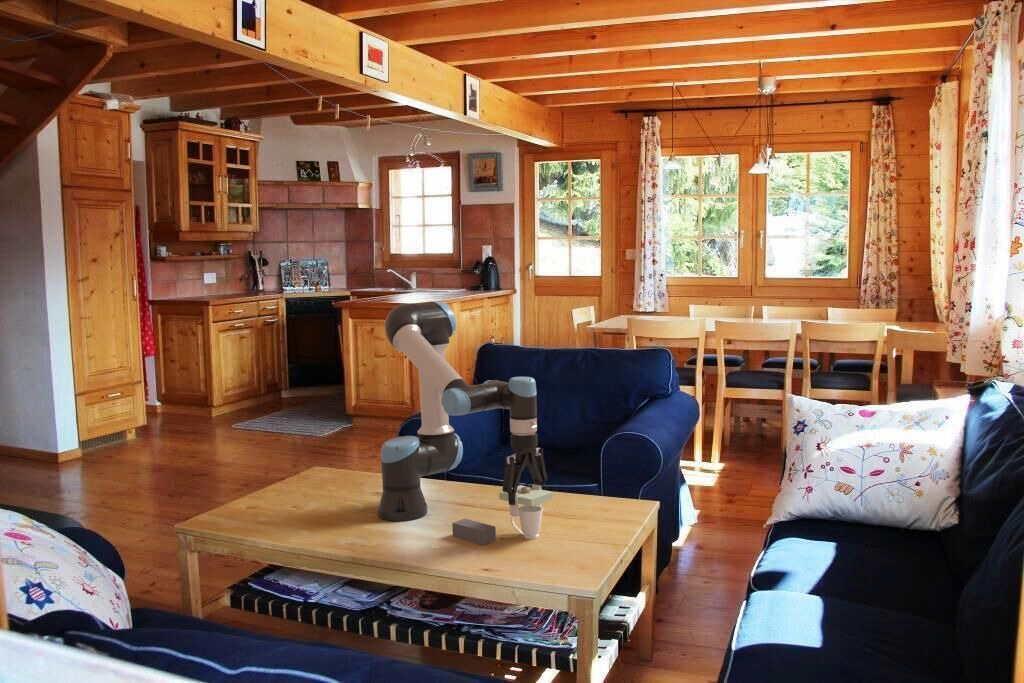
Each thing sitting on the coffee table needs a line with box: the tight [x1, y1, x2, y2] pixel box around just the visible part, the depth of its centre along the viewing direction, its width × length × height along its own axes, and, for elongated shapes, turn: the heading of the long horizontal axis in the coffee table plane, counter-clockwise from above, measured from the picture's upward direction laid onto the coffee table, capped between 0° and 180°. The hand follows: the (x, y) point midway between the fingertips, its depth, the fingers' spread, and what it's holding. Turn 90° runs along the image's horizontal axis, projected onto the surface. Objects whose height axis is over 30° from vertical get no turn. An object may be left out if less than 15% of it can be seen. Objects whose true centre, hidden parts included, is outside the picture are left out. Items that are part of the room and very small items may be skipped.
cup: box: [510, 505, 543, 540], centre depth 245 cm, size 7×10×8 cm
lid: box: [498, 484, 554, 507], centre depth 244 cm, size 12×9×3 cm
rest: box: [452, 518, 497, 546], centre depth 244 cm, size 12×5×4 cm, turn 48°
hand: (526, 511), depth 245 cm, fingers closed on lid, 9 cm apart
